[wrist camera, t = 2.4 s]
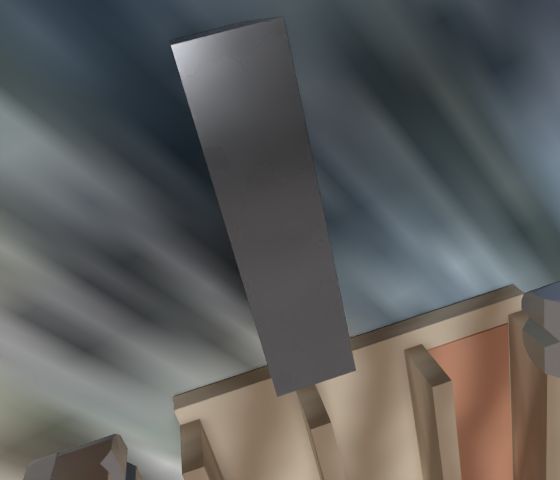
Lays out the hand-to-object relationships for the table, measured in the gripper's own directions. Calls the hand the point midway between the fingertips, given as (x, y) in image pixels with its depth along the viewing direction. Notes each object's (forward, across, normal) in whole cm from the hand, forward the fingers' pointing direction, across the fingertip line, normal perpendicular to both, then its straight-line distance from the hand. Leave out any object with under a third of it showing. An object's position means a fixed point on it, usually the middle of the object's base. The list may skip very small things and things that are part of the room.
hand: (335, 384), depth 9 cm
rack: (+14, -4, +17) cm, 22 cm away
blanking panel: (+13, -1, -1) cm, 13 cm away
